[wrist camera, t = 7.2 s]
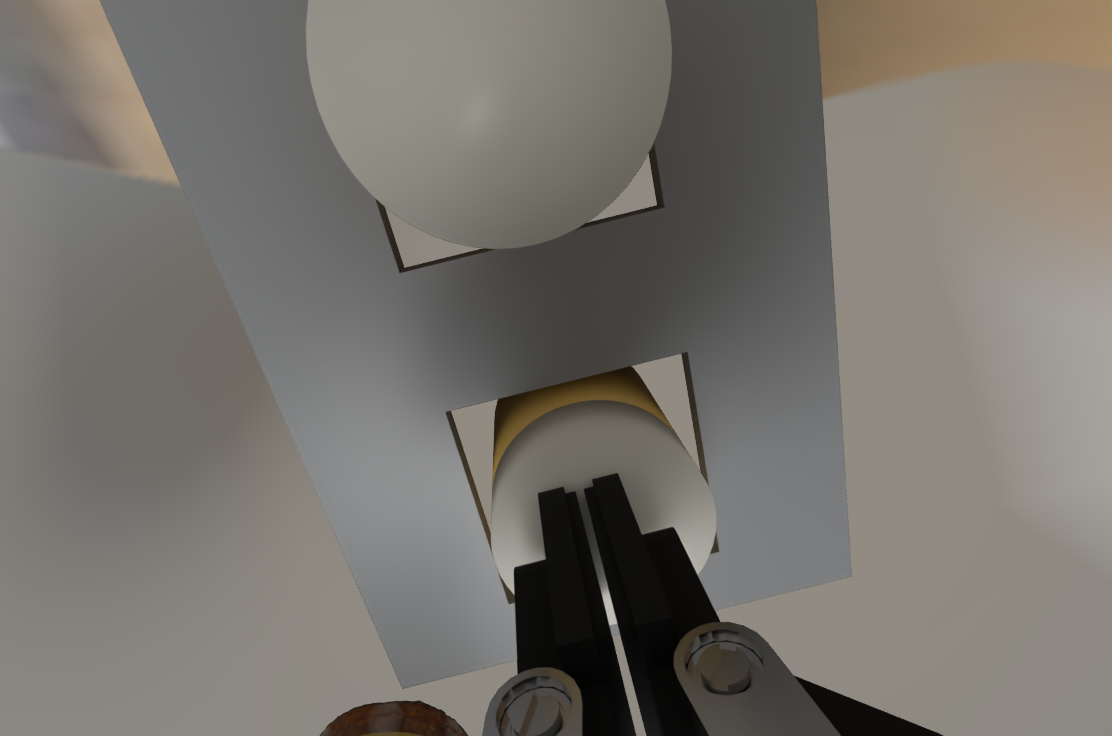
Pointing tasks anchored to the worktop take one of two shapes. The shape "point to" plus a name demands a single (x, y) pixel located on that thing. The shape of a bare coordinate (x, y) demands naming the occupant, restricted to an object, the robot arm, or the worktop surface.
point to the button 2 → (592, 467)
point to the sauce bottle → (394, 721)
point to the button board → (521, 307)
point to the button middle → (491, 107)
